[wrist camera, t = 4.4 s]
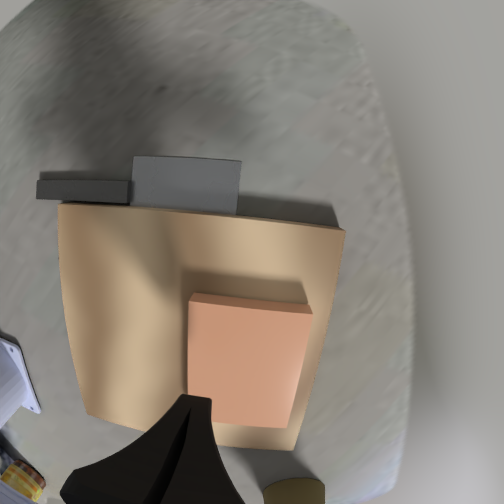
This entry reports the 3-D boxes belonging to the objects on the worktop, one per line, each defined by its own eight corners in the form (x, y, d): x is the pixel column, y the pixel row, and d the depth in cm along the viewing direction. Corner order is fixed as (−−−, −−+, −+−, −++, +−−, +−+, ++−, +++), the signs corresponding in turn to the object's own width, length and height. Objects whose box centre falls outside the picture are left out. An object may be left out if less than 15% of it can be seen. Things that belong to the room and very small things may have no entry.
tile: (188, 418, 16) (286, 428, 16) (188, 300, 14) (313, 314, 14) (192, 404, 17) (285, 414, 17) (194, 291, 15) (309, 303, 15)
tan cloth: (93, 405, 19) (87, 414, 18) (69, 202, 16) (58, 204, 14) (291, 439, 19) (292, 450, 18) (339, 227, 16) (345, 231, 14)
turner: (43, 218, 16) (36, 220, 15) (45, 158, 15) (38, 158, 14) (234, 236, 16) (233, 239, 15) (241, 162, 15) (240, 160, 14)
